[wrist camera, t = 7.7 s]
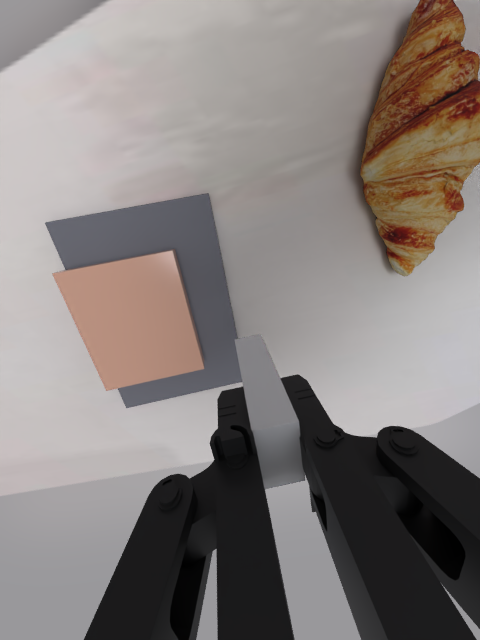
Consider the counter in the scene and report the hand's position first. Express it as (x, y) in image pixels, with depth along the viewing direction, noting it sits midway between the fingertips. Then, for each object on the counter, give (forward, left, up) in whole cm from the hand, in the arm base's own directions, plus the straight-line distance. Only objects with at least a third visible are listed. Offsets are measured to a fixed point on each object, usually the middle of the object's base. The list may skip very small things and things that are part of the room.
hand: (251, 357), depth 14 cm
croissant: (-18, -10, -13) cm, 25 cm away
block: (+4, 0, -11) cm, 12 cm away
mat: (+7, 0, -13) cm, 15 cm away
